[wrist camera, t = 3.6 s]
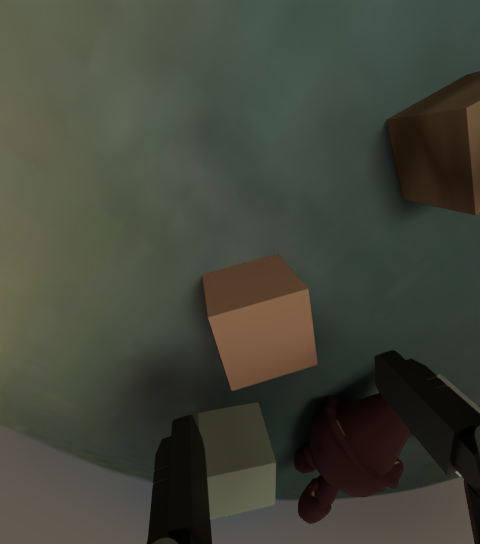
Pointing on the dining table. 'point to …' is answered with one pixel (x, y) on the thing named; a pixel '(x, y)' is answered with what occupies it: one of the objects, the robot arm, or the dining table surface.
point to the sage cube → (237, 460)
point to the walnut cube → (441, 147)
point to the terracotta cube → (260, 320)
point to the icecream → (350, 453)
